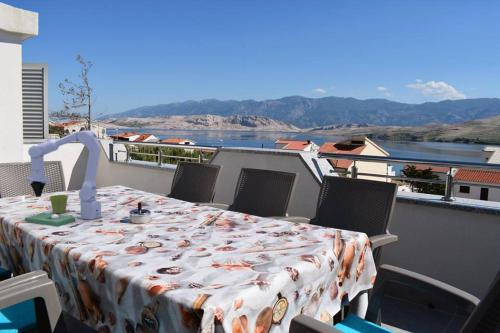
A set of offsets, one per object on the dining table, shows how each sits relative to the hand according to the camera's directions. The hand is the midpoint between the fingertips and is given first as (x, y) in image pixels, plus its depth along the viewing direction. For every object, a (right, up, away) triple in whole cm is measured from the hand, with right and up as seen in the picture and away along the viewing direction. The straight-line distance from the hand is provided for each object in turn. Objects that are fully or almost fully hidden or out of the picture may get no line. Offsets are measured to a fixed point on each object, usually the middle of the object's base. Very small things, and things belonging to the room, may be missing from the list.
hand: (38, 196), depth 198 cm
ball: (+12, -10, -7) cm, 17 cm away
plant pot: (+5, -10, +12) cm, 16 cm away
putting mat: (+10, -12, -7) cm, 17 cm away
